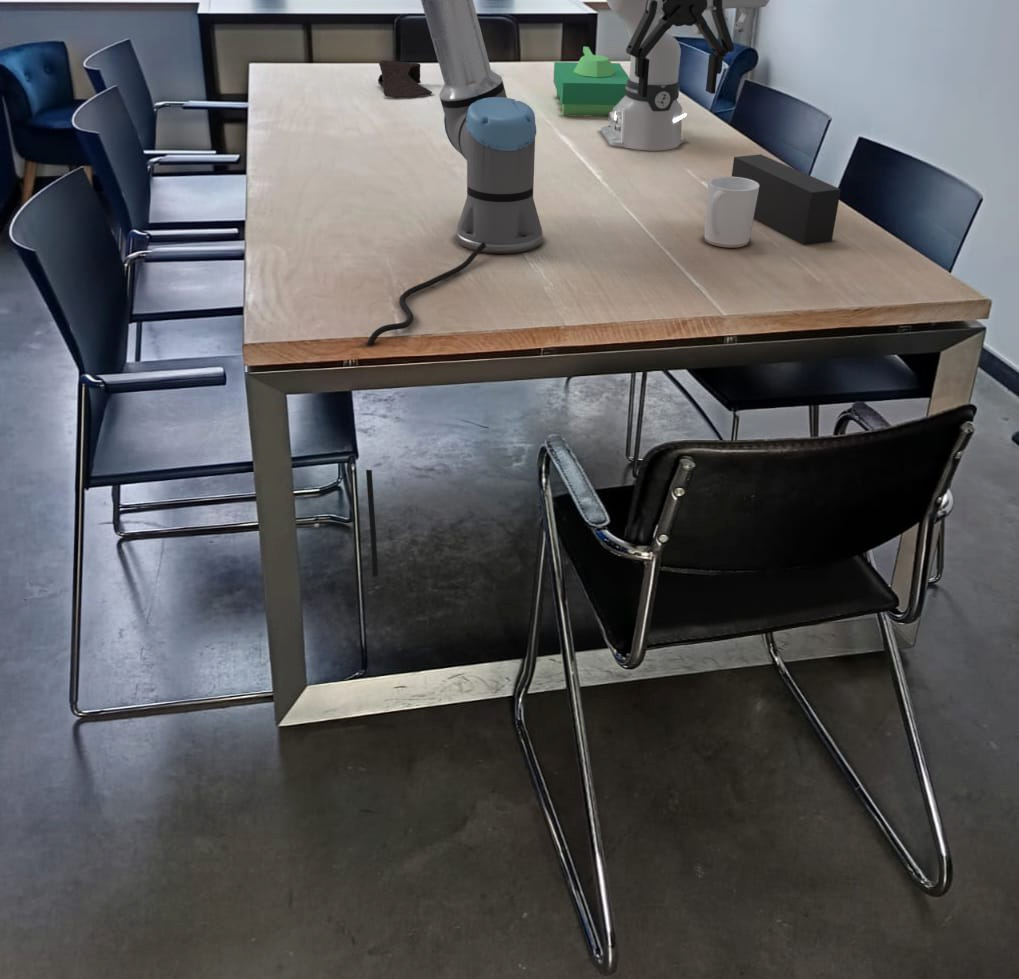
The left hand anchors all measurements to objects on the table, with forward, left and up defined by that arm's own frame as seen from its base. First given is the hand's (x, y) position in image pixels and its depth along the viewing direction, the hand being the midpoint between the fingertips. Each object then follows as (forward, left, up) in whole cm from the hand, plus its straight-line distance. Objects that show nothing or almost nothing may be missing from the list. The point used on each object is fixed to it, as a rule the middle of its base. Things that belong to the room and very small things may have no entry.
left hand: (676, 94), depth 204 cm
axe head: (+92, +72, -21) cm, 119 cm away
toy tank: (+88, +21, -21) cm, 92 cm away
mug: (-20, -10, -21) cm, 31 cm away
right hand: (+21, -8, +8) cm, 24 cm away
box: (-6, -21, -21) cm, 31 cm away
